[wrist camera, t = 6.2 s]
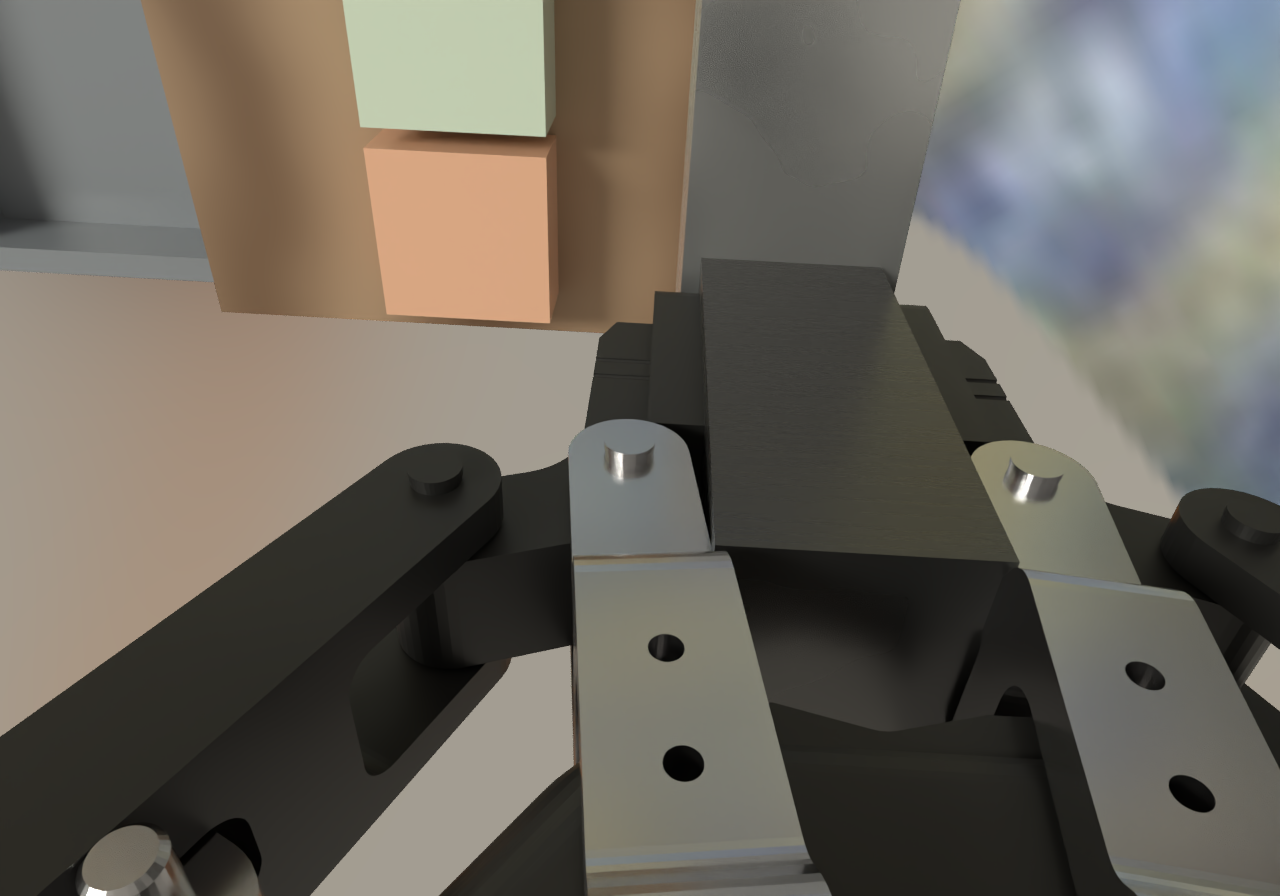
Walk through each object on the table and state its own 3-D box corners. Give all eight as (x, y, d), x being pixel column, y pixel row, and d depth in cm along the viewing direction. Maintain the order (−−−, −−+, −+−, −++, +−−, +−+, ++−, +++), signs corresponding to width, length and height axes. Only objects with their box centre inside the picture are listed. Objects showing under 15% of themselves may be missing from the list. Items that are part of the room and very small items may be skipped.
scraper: (924, -128, 12) (1318, -76, 5) (797, 537, 19) (872, 987, 11) (706, -139, 12) (744, -105, 5) (658, 529, 19) (644, 973, 11)
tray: (192, -196, 23) (134, -200, 21) (284, 248, 30) (248, 284, 28) (-176, -214, 23) (-277, -220, 21) (1, 232, 31) (-59, 266, 28)
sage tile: (552, -88, 20) (540, -81, 18) (555, 115, 23) (545, 136, 21) (358, -97, 20) (329, -92, 18) (383, 106, 23) (360, 127, 21)
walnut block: (789, -145, 23) (810, -141, 19) (741, 273, 30) (749, 341, 26) (197, -173, 24) (94, -176, 19) (284, 248, 30) (221, 311, 26)
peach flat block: (556, 135, 23) (546, 157, 21) (558, 292, 25) (549, 323, 24) (386, 126, 23) (363, 147, 21) (406, 283, 26) (386, 314, 24)
